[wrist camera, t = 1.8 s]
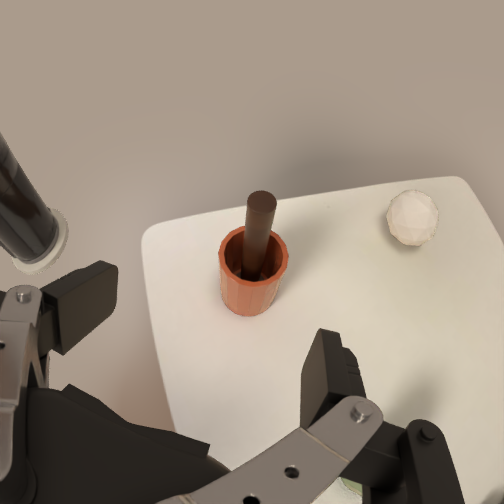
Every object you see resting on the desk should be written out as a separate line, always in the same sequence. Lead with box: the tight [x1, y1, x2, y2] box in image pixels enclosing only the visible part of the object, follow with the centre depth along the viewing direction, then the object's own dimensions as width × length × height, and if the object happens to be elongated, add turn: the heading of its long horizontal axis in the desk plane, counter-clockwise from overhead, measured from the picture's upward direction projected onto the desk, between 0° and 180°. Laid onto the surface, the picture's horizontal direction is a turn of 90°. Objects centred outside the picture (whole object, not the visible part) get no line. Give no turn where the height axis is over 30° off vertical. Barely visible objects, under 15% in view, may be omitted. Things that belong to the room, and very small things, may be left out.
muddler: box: [236, 191, 277, 282], centre depth 27 cm, size 4×4×16 cm
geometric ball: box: [386, 190, 439, 246], centre depth 37 cm, size 8×8×8 cm
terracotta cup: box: [218, 226, 289, 316], centre depth 31 cm, size 6×6×9 cm
